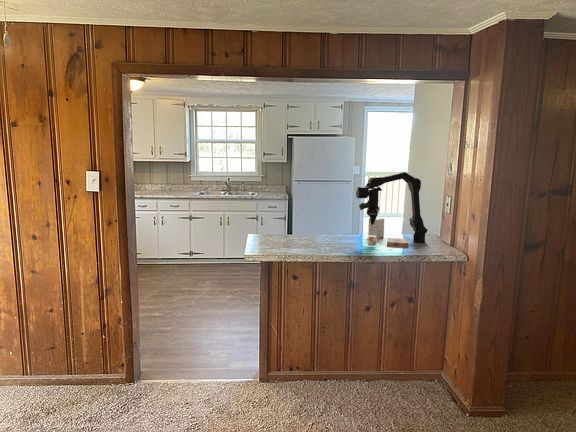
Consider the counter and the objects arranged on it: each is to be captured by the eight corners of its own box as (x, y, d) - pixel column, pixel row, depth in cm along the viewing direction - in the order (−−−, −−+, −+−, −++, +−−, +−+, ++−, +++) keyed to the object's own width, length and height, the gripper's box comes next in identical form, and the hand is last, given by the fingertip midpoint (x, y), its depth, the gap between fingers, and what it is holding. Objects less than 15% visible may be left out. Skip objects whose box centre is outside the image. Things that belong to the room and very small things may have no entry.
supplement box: (375, 235, 277) (375, 217, 275) (384, 237, 271) (384, 218, 269) (367, 237, 272) (368, 218, 270) (376, 238, 266) (377, 219, 264)
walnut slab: (407, 244, 254) (408, 239, 253) (407, 248, 242) (408, 243, 242) (387, 242, 257) (387, 238, 257) (386, 246, 246) (387, 242, 245)
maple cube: (376, 242, 255) (376, 235, 255) (375, 244, 251) (375, 237, 250) (368, 242, 256) (368, 235, 256) (368, 243, 252) (368, 236, 251)
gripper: (361, 196, 261) (361, 220, 263) (358, 199, 243) (357, 225, 245) (379, 196, 258) (378, 221, 260) (377, 200, 240) (376, 226, 242)
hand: (372, 223), depth 252 cm, fingers open, 9 cm apart
